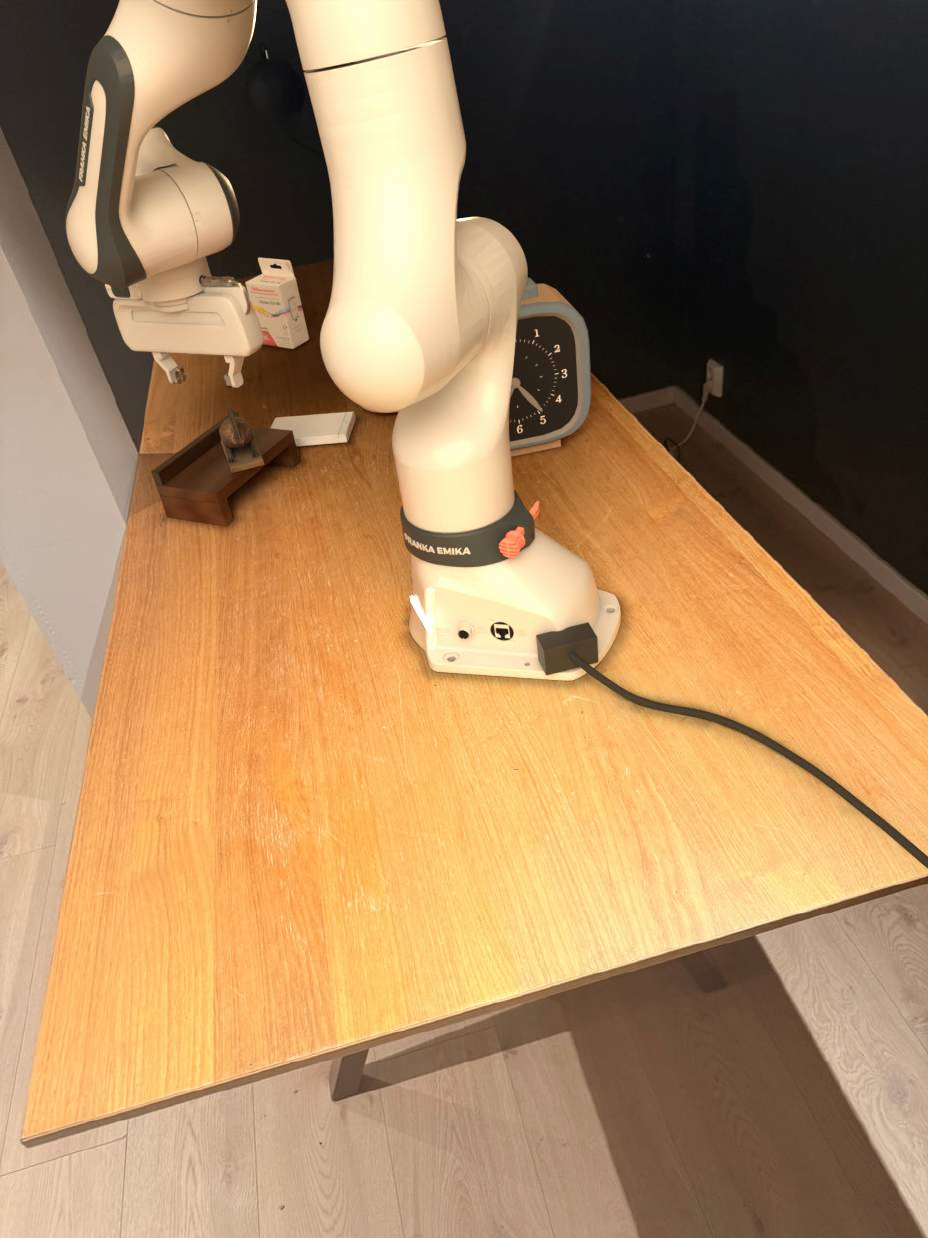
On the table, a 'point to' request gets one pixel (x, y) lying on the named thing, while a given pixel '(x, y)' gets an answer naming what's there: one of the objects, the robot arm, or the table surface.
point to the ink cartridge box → (278, 304)
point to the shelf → (215, 474)
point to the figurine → (239, 443)
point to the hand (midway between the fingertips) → (206, 383)
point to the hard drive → (318, 427)
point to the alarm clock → (548, 372)
